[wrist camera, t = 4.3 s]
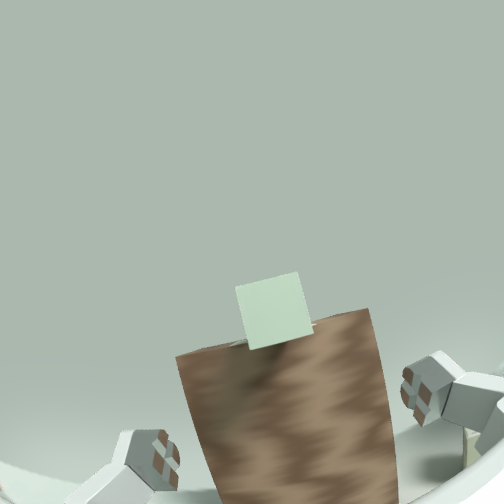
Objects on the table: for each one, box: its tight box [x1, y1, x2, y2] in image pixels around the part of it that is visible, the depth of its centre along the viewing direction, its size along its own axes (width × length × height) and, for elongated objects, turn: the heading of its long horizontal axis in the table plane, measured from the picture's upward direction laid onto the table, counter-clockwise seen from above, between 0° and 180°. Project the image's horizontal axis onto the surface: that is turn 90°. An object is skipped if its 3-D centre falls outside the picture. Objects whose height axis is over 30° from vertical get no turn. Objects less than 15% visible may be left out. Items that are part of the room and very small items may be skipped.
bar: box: [235, 272, 314, 350], centre depth 23 cm, size 3×22×3 cm, turn 178°
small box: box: [462, 427, 481, 470], centre depth 17 cm, size 5×4×8 cm
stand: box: [176, 308, 399, 504], centre depth 22 cm, size 16×10×26 cm, turn 88°
